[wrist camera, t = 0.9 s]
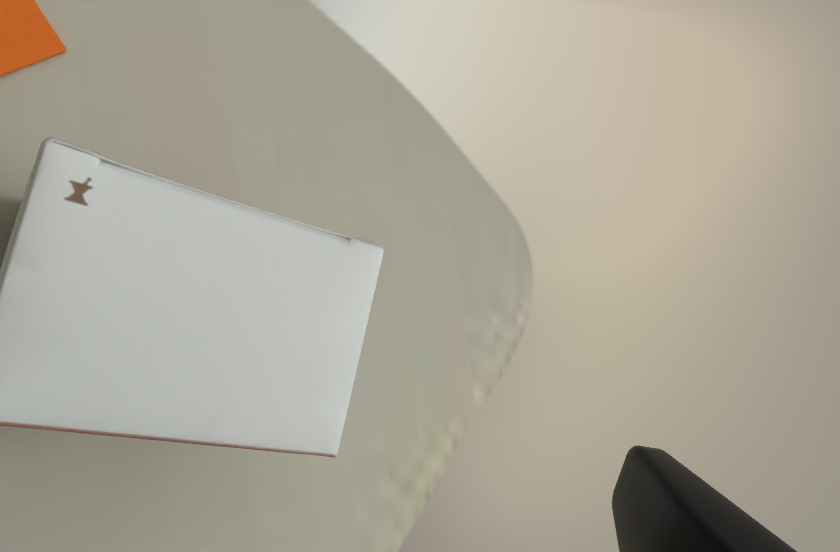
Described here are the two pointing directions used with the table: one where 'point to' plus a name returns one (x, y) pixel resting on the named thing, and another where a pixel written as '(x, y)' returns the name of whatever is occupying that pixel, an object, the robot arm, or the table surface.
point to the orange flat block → (25, 36)
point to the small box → (176, 312)
